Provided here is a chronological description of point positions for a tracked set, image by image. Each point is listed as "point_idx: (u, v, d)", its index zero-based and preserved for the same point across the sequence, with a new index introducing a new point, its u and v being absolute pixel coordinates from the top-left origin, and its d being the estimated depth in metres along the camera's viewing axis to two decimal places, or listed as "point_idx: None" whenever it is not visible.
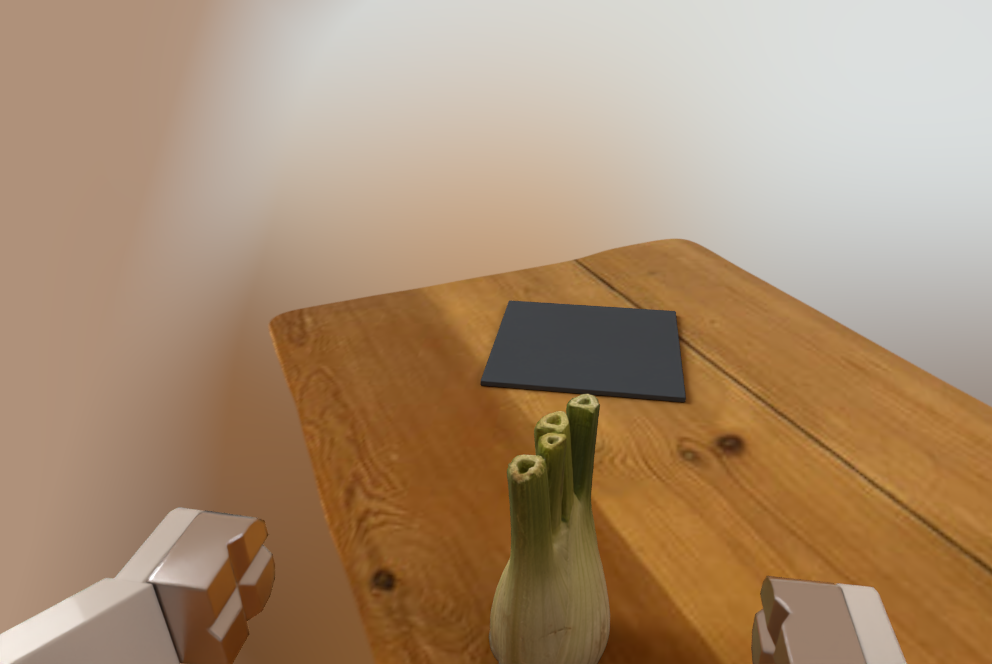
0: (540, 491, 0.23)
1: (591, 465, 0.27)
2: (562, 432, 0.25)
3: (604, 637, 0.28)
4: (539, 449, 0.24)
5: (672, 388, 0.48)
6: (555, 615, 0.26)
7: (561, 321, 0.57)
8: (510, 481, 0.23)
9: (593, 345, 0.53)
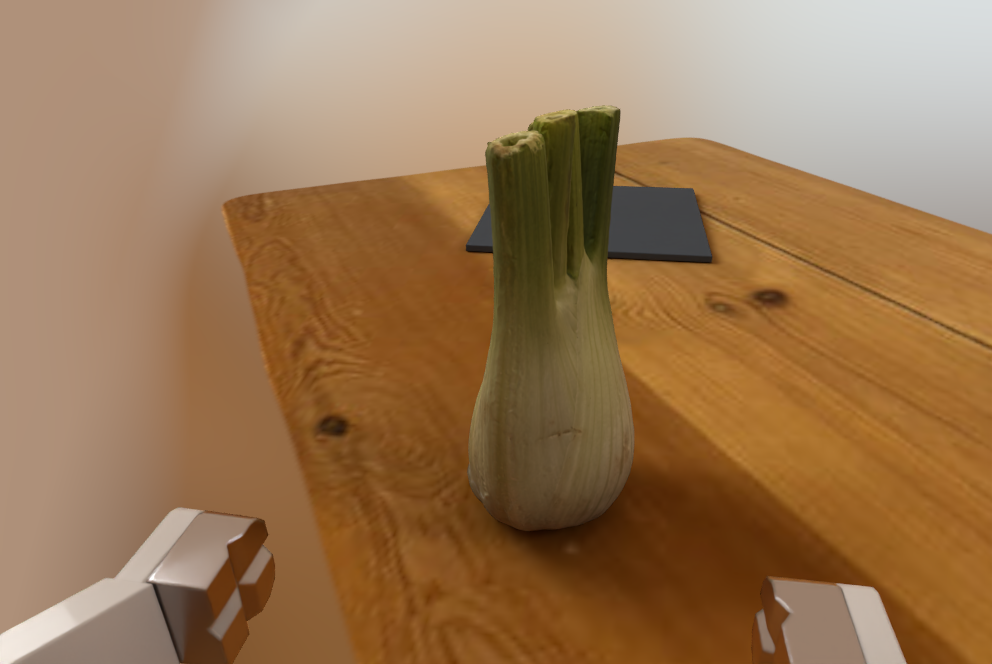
0: (536, 181, 0.15)
1: (608, 209, 0.20)
2: None
3: (627, 455, 0.20)
4: (534, 130, 0.16)
5: (696, 248, 0.40)
6: (558, 407, 0.18)
7: None
8: (490, 159, 0.15)
9: None
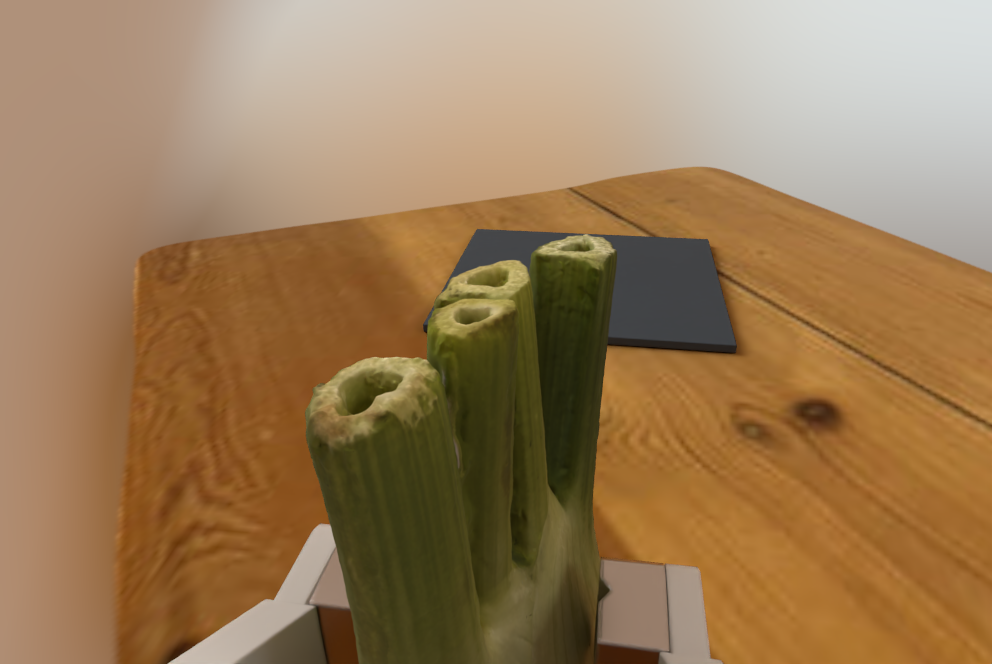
0: (421, 479, 0.07)
1: (594, 419, 0.11)
2: None
3: None
4: (428, 344, 0.07)
5: (715, 332, 0.31)
6: None
7: None
8: (307, 442, 0.06)
9: None
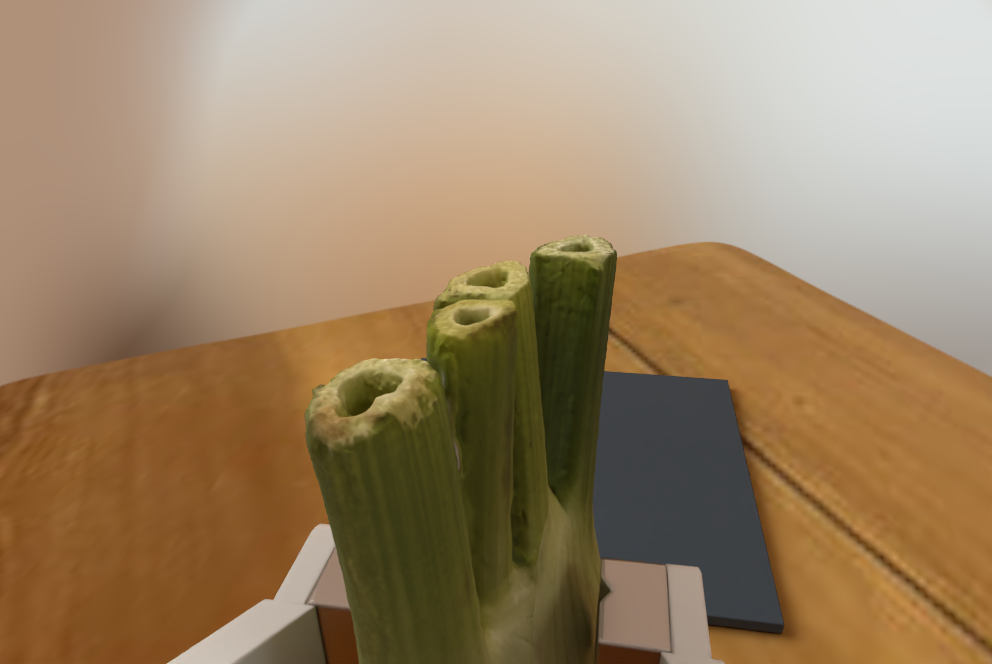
0: (421, 480, 0.07)
1: (594, 419, 0.11)
2: None
3: None
4: (428, 345, 0.07)
5: (750, 592, 0.21)
6: None
7: None
8: (307, 443, 0.06)
9: None
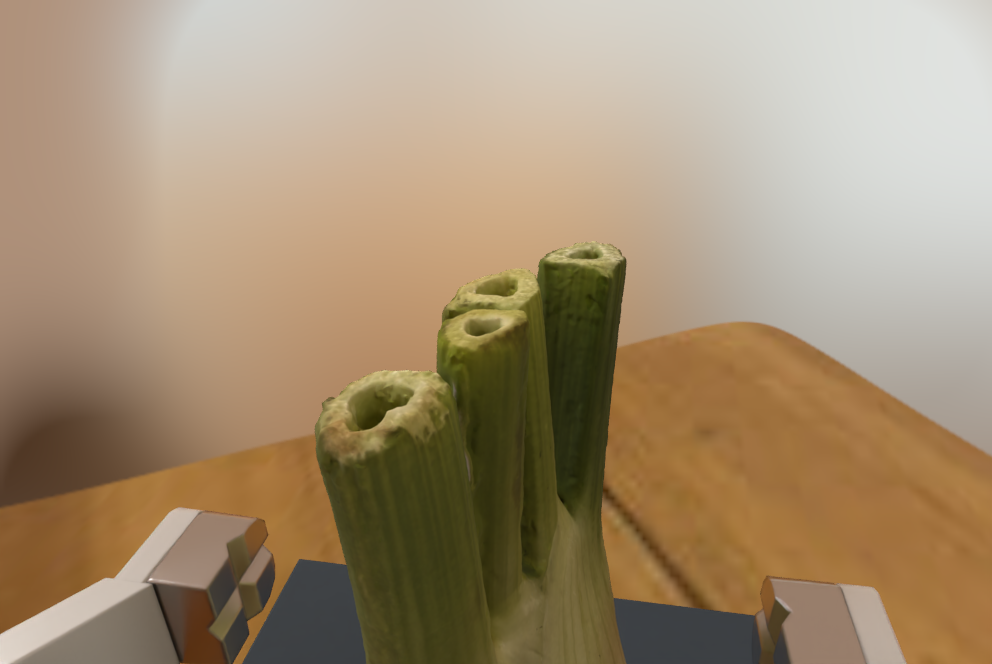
0: (433, 494, 0.07)
1: (603, 427, 0.11)
2: None
3: None
4: (438, 355, 0.07)
5: None
6: None
7: None
8: (318, 458, 0.06)
9: None
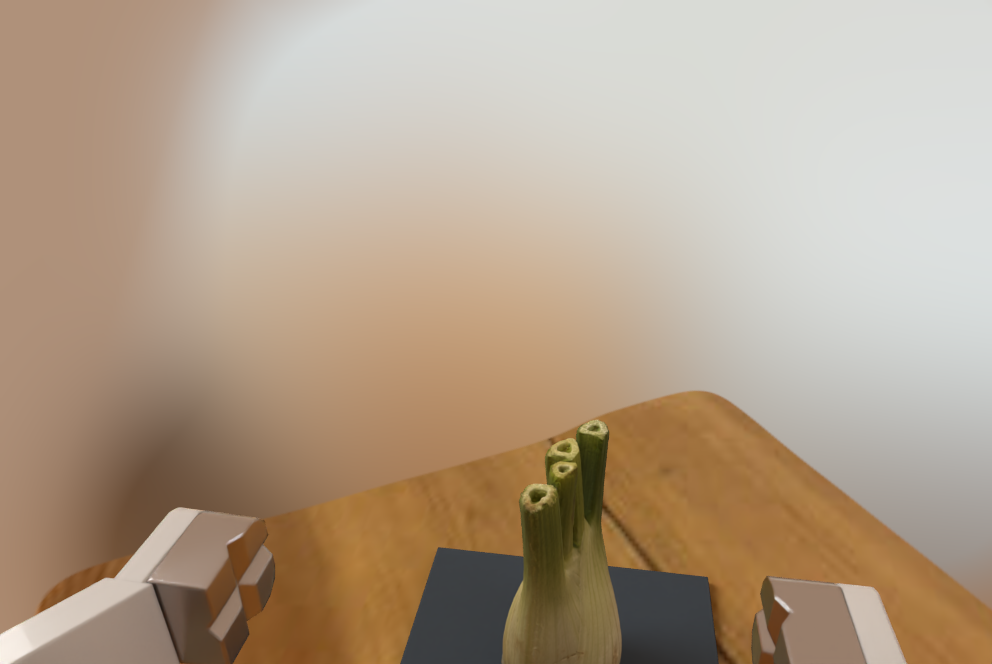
0: (552, 520, 0.24)
1: (601, 490, 0.28)
2: (573, 460, 0.25)
3: (616, 661, 0.28)
4: (551, 478, 0.24)
5: None
6: (567, 641, 0.26)
7: None
8: (523, 511, 0.23)
9: None
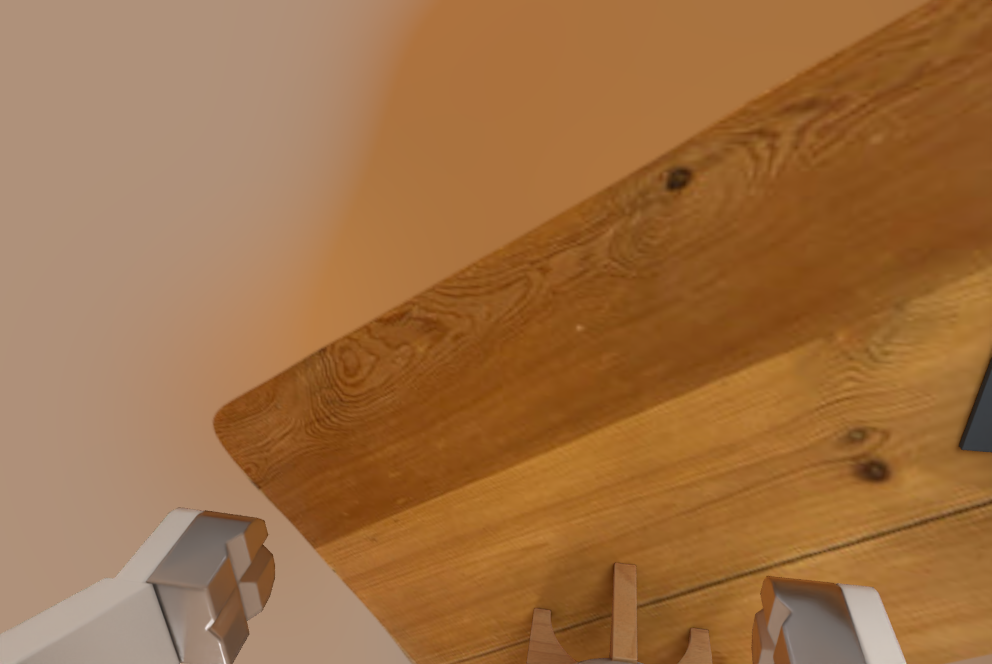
0: None
1: None
2: None
3: None
4: None
5: (985, 440, 0.40)
6: None
7: None
8: None
9: None
